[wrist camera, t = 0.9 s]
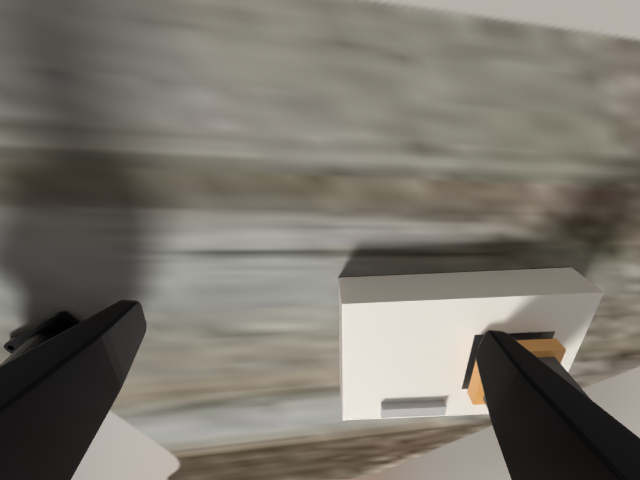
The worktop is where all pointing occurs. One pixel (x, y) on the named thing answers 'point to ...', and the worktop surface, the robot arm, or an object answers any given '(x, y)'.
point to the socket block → (445, 333)
